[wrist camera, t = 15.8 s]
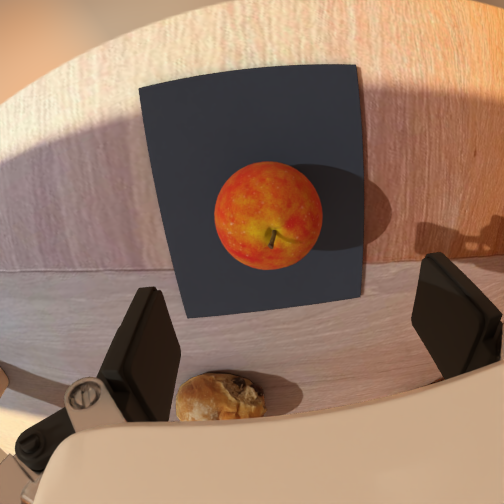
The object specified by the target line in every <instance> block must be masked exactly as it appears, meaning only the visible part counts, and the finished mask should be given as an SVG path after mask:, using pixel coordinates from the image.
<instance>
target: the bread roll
mask: <svg viewBox="0 0 504 504" xmlns="http://www.w3.org/2000/svg"><path fill="white" fill-rule="evenodd" d="M263 394H264V393H263V389H262V388H261V387H260V386H259V385H255V384H252V382H251V381H250V380H248V379H244V378H242V377H240V376H235V375H231V374H220V373H204V374H203V375H198V376H196V377H193V378H190V379H189V380H188V381H187V382H185V383H184V384H182V385H181V386H180V387H179V390H178V393H177V395H176V415H177V416H178V418H179V419H180V421H212V420H232V419H247V418H259V417H263V415H264V413H265V412H266V411H267V408H266V407H265V401H264V396H263Z"/></svg>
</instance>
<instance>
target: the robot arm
mask: <svg viewBox="0 0 504 504" xmlns="http://www.w3.org/2000/svg"><path fill="white" fill-rule="evenodd" d="M502 315H503V314H502V313H501V312H500V311H499V310H498V309H497V307H496V306H495V305H494V304H493V303H492V302H491V301H490V300H489V299H488V298H487V297H486V296H485V295H484V294H483V293H482V291H481V290H480V289H479V288H478V287H477V286H476V285H475V284H474V283H473V282H472V281H471V280H470V279H469V278H468V277H467V276H466V275H465V274H464V273H463V272H462V271H461V270H460V269H459V268H458V267H457V266H456V265H454V264H453V263H452V262H451V261H450V260H449V259H448V258H447V257H446V256H445V255H444V254H443V253H441V252H437V253H430V254H427V255H426V256H425V258H424V259H423V260H422V262H421V268H420V274H419V280H418V286H417V292H416V297H415V302H414V307H413V312H412V317H411V321H412V325H413V327H414V329H415V330H416V332H417V333H418V335H419V337H420V338H421V340H422V341H423V343H424V345H425V346H426V348H427V350H428V351H429V353H430V355H431V357H432V358H433V360H434V362H435V363H436V365H437V367H438V369H439V370H440V372H441V374H442V376H443V377H444V379H445V380H443V381H440V382H437V383H434V384H431V385H427V386H424V387H420V388H417V389H413V390H410V391H406V392H402V393H398V394H394V395H390V396H386V397H382V398H378V399H373V400H369V401H364V402H359V403H355V404H350V405H344V406H339V407H333V408H328V409H322V410H315V411H309V412H302V413H294V414H287V415H278V416H269V417H259V418H247V419H232V420H212V421H179V422H168V420H169V415H170V409H171V404H172V398H173V393H174V388H175V383H176V378H177V373H178V368H179V363H180V358H181V349H180V345H179V343H178V340H177V337H176V334H175V331H174V328H173V325H172V322H171V319H170V316H169V313H168V310H167V306H166V303H165V300H164V297H163V294H162V292H161V290H157V289H156V287H144V288H139V289H138V290H137V292H136V294H135V296H134V298H133V301H132V303H131V305H130V307H129V309H128V311H127V313H126V315H125V317H124V319H123V322H122V324H121V326H120V327H119V328H118V330H117V332H116V334H115V336H114V339H113V341H112V343H111V345H110V347H109V350H108V352H107V354H106V356H105V359H104V361H103V363H102V366H101V368H100V370H99V373H98V375H97V377H96V378H95V377H85V378H82V379H79V380H77V381H76V382H74V383H73V384H72V385H71V386H70V387H69V388H68V389H67V391H66V393H65V395H64V405H65V407H64V408H63V409H61V410H59V411H57V412H56V413H54V414H52V415H51V416H49V417H47V418H46V419H44V420H42V421H40V422H39V423H37V424H35V425H33V426H32V427H30V428H28V429H26V430H25V431H24V432H22V433H21V435H20V436H19V437H18V439H17V441H16V444H15V453H16V454H15V455H14V456H12V455H11V454H9V455H8V456H7V457H6V458H5V459H4V460H3V461H2V462H1V463H0V504H504V323H502V322H501V321H500V320H501V317H502Z"/></svg>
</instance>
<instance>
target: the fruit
mask: <svg viewBox="0 0 504 504" xmlns="http://www.w3.org/2000/svg"><path fill="white" fill-rule="evenodd" d="M214 215H215V225H216V230H217V233H218V236H219V238H220V240H221V242H222V244H223V245H224V247H225V249H226V250H227V251H228V252H229V253H230V254H231V255H232V256H233V257H234V258H235V259H236V260H238V261H239V262H241V263H243V264H245V265H247V266H250V267H252V268H256V269H262V270H274V269H280V268H284V267H288V266H290V265H293V264H295V263H297V262H298V261H300V260H301V259H302V258H303V257H304V256H306V255H307V254H308V252H309V251H310V250H311V249H312V248H313V246H314V244H315V243H316V241H317V239H318V236H319V234H320V231H321V227H322V217H323V215H322V206H321V202H320V198H319V196H318V194H317V192H316V189H315V188H314V186H313V185H312V183H311V182H310V181H309V180H308V179H307V178H306V177H305V175H303V174H302V173H301V172H299V171H298V170H297V169H295V168H293V167H291V166H289V165H286V164H283V163H279V162H272V161H265V162H258V163H253V164H250V165H247V166H245V167H243V168H241V169H240V170H238V171H237V172H236V173H234V174H233V175H232V176H231V177H230V178H229V179H228V180H227V181H226V183H225V184H224V185H223V187H222V188H221V190H220V193H219V195H218V197H217V201H216V204H215V212H214Z"/></svg>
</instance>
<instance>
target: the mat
mask: <svg viewBox="0 0 504 504" xmlns="http://www.w3.org/2000/svg"><path fill="white" fill-rule="evenodd" d="M139 95H140V102H141V109H142V116H143V122H144V128H145V134H146V140H147V146H148V151H149V157H150V162H151V168H152V173H153V178H154V183H155V188H156V193H157V198H158V203H159V207H160V212H161V216H162V221H163V225H164V230H165V234H166V238H167V243H168V247H169V251H170V255H171V259H172V263H173V267H174V271H175V275H176V279H177V283H178V286H179V290H180V294H181V297H182V301H183V305H184V308H185V312H186V315H187V318H198V317H209V316H219V315H229V314H239V313H248V312H257V311H265V310H274V309H282V308H289V307H297V306H304V305H312V304H319V303H326V302H332V301H339V300H345V299H352V298H358V297H360V295H361V281H362V263H363V238H364V166H363V141H362V123H361V109H360V98H359V87H358V77H357V68H356V65H345V64H316V65H289V66H274V67H261V68H251V69H242V70H234V71H226V72H219V73H212V74H206V75H200V76H194V77H189V78H183V79H178V80H173V81H168V82H164V83H159V84H155V85H151V86H146V87H142V88H139ZM265 161H272V162H279V163H283V164H286V165H289V166H291V167H293V168H295V169H297V170H298V171H299V172H301V173H302V174H303V175H305V177H306V178H307V179H308V180H309V181H310V182H311V183H312V185H313V186H314V188H315V189H316V192H317V194H318V196H319V198H320V202H321V206H322V215H323V217H322V227H321V231H320V234H319V236H318V239H317V241H316V243H315V244H314V246H313V248H312V249H311V250H310V251H309V252H308V254H307V255H306V256H304V257H303V258H302V259H301V260H300V261H298V262H297V263H295V264H293V265H290V266H288V267H284V268H280V269H274V270H262V269H256V268H252V267H250V266H247V265H245V264H243V263H241V262H239V261H238V260H236V259H235V258H234V257H233V256H232V255H231V254H230V253H229V252H228V251H227V250H226V249H225V247H224V245H223V244H222V242H221V240H220V238H219V236H218V233H217V230H216V225H215V215H214V212H215V204H216V201H217V197H218V195H219V193H220V190H221V188H222V187H223V185H224V184H225V183H226V181H227V180H228V179H229V178H230V177H231V176H232V175H233V174H234V173H236V172H237V171H238V170H240V169H241V168H243V167H245V166H247V165H250V164H253V163H258V162H265Z"/></svg>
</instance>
